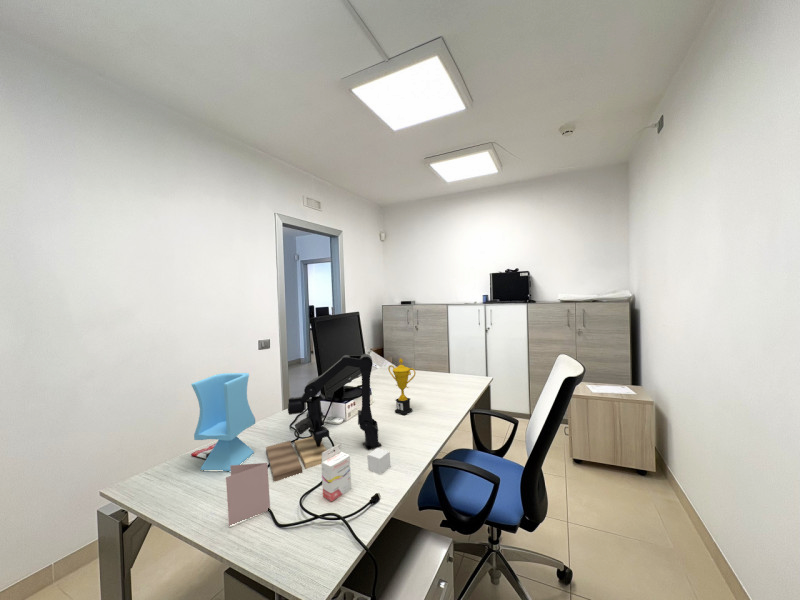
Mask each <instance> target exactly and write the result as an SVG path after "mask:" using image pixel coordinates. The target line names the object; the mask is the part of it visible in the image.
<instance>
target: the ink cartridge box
mask: <svg viewBox="0 0 800 600" xmlns="http://www.w3.org/2000/svg"><path fill="white" fill-rule="evenodd" d="M326 450H327V451H325V452H323V453H322V462H321V464H320V465H321V482H322V483H321V484H322V497H323V498H325V499H327V501H330V502H333V501H335V500H336V499H338V498H340V497H341V496H343V495H344V494H346V493H347V492H348V491H350V490H351V489H352V479H351V478H352V476H351V456H350V454H348V453H345V452H343V451H342V444H341V443H339V444H337V445H335V446H332V447H331V448H328V449H326ZM332 451H333V452H332ZM328 453H329V454H328Z"/></svg>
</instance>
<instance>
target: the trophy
mask: <svg viewBox="0 0 800 600" xmlns="http://www.w3.org/2000/svg"><path fill="white" fill-rule="evenodd" d="M398 362H399V365H398V366H396V367H394V365H392V364H391V365H389V366H388V368H387V369H388V372H389V374H390V376H392V378H393V379H394V380H395V382H396V384H395V386H396V387H398V389H399V390H401V391H400V392H401V394H400V396H399V397H398V398H395V400H394V401H396V408H395V409H394V413H395V414H398V415H400V416H401V415H402V416H407V415H409V414H410V413H412V412H413V409H412V408H411V401H410V400H411V398H409V397H407V395H405V389H409V388H410V387H409V386H408V384H409V383H410V382H411V381H412V380H413V379H414V378H415V376H416V370H415V368H413V367H411V368H410V367H407V366H405V365H404V364H403V363H404V359H403V358H401V357H400V358H399V359H398ZM391 368H392V371H391ZM411 371H413V373H414V374H413V376H411V374H412V372H411ZM409 376H411V378H409Z"/></svg>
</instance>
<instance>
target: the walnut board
mask: <svg viewBox="0 0 800 600" xmlns="http://www.w3.org/2000/svg"><path fill="white" fill-rule="evenodd" d="M265 452H266V456H267V459H268V463H270V464H269V467H270V470H271V476H272V478H273V482H274V481H275V482H278V481H282V480H284V478H285V479H288V478H291V477H293V475H294V476H296V474H297V475H299V473H300V474H303V466H302V464H301V462H300V459H299V457H298V456H297V453H296V451H295V448H294V446H293V444H292V442H291V440H288V441H284V442H280V443H275V444H272V445H269V446H266V447H265ZM290 476H291V477H290ZM287 477H288V478H287Z"/></svg>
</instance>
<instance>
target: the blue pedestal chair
mask: <svg viewBox="0 0 800 600" xmlns="http://www.w3.org/2000/svg"><path fill="white" fill-rule="evenodd" d="M249 377H250V374H249V373H248V372H234V373H233V372H229V373H227V372H226V373H219V374H215V375H212V376H208V377H205V378H203V379H201V380H198V381H195V382H192V383H191V387H192V389H193V391H194V394H195V396H196V399H197V401H198V406H199V414H198V415H199V416H198V422H197V425H196V428H195V430H194V431H195V432H194V434H193V435H194V436H193V437H194V438H193V439H194V441H206V440H217V442H216V443H215V445H214V447H213V448H212V449H211V451H210V453H208V454H209V455H208V456H207V457H206V459H205V461H204V462H203V464H202V465H201V467H200V471H201V470H223V471H231V468H230V465H240V464H241V463H242V462H243V463H245V462H246V461H247V460H248V459H249V458H251V457H250V456H251V455H252V454H253V455H254V454H255V450H253V449H252V448H251V447H250V446H249V445H247V444H246V443H245V442H243V441H242V440H241V439H240V438H239V437H238V436H239V435H240V434H241V433H243V432H244V431H245V430H246V429H249V428H251V427H253V426H254V425H255V424H256V417H255V416H254V414H253V412H252V409H251V407H250V404H249V400H248V382H249ZM253 455H252V456H253ZM247 458H248V459H247ZM246 459H247V460H246ZM245 460H246V461H245ZM244 461H245V462H244ZM243 463H242V464H243ZM242 464H241V465H242Z"/></svg>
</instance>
